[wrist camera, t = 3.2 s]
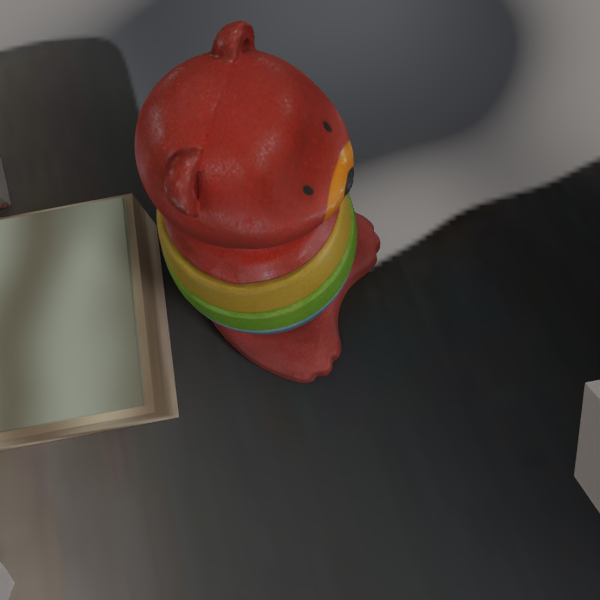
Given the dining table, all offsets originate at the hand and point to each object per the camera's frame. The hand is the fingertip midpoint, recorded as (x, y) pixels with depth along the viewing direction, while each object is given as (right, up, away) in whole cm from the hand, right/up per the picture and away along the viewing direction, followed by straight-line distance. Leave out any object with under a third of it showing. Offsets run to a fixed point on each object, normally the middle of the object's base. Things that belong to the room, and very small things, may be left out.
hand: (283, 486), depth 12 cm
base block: (-13, +2, +21) cm, 25 cm away
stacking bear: (-1, +5, +22) cm, 22 cm away
